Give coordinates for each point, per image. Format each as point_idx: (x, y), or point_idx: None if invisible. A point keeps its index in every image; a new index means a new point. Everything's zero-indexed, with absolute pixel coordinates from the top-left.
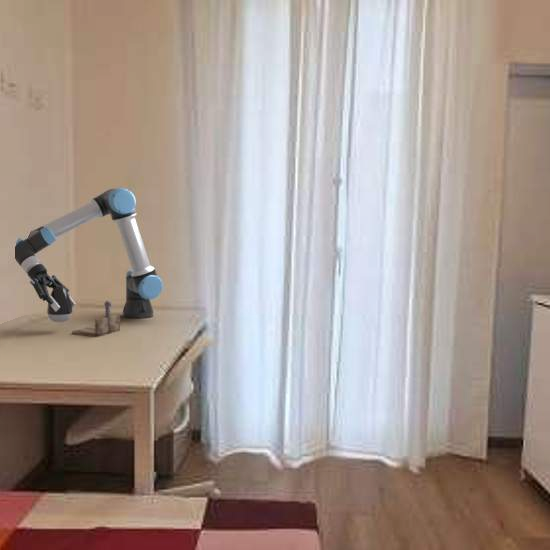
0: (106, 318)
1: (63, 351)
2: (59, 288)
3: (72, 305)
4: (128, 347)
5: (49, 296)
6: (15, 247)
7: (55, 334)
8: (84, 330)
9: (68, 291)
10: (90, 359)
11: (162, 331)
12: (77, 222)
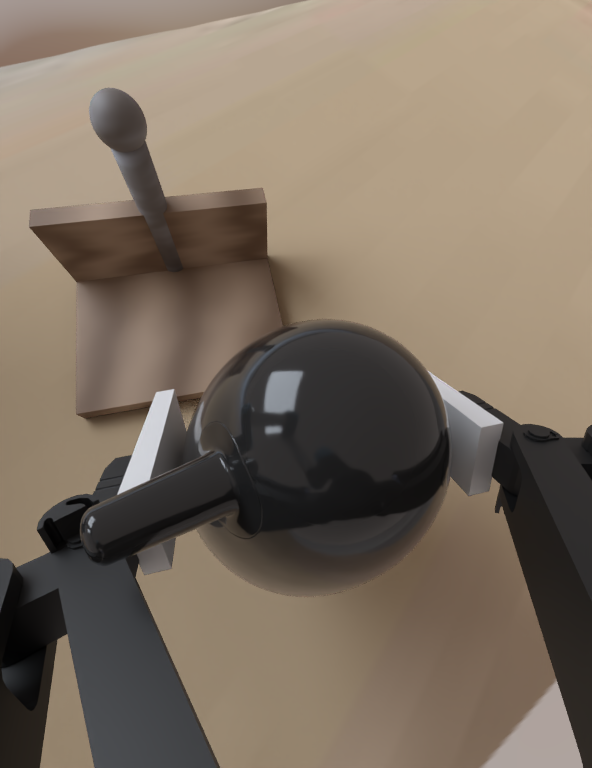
0: (183, 198)
1: (516, 182)
2: (397, 343)
3: (181, 419)
4: (336, 93)
5: (499, 430)
6: None
7: None
8: (239, 343)
9: (5, 565)
10: (507, 85)
11: (15, 146)
12: None
